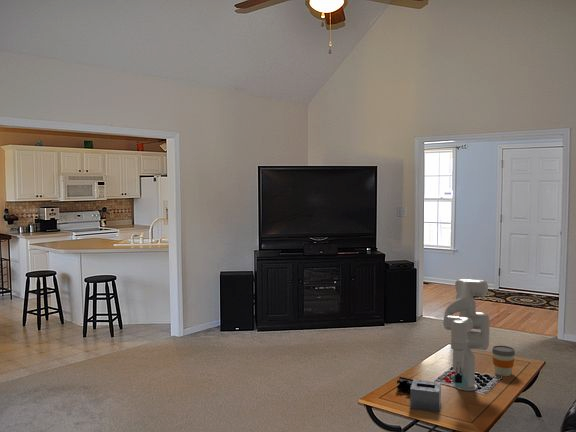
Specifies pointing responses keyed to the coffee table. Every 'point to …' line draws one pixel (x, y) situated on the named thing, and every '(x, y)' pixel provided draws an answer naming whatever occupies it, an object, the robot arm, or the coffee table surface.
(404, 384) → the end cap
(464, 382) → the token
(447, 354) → the coffee table surface
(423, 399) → the box
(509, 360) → the reusable coffee cup
